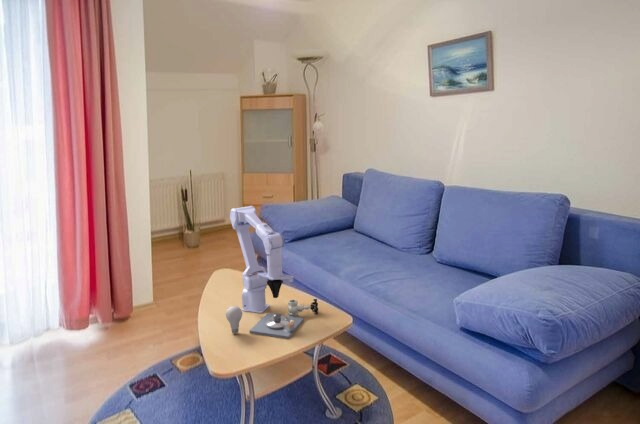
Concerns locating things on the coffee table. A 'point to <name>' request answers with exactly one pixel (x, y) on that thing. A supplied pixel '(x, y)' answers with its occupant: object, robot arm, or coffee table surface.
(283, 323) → the silver lidded pan
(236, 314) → the lightbulb
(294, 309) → the valve
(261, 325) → the board
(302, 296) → the coffee table surface
